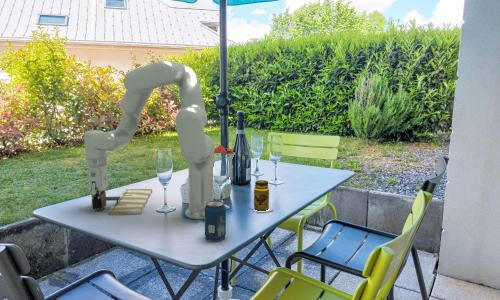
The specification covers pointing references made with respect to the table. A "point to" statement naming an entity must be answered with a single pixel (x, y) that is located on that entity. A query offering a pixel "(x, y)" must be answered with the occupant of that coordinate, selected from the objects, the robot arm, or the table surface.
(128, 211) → the wooden slatted rack
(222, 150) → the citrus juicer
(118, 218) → the table surface
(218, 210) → the soda can
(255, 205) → the condiment
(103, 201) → the marking gauge
